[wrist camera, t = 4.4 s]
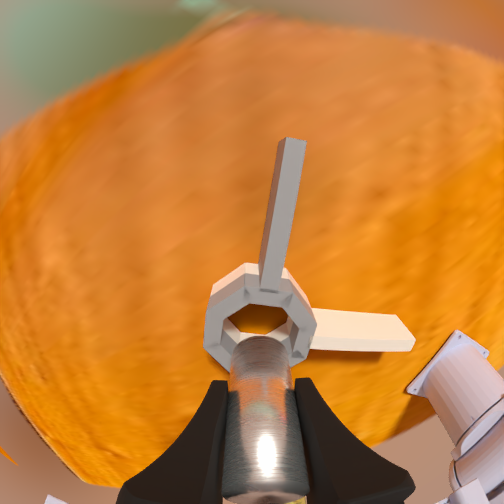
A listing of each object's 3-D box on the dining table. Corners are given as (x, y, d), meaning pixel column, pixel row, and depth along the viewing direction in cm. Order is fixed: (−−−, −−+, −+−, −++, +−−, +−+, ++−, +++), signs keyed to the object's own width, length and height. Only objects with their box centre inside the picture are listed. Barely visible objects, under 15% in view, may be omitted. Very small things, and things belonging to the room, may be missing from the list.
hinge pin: (298, 346, 14) (327, 483, 7) (270, 382, 15) (281, 508, 7) (246, 327, 14) (244, 474, 6) (222, 366, 14) (209, 499, 7)
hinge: (208, 338, 20) (201, 369, 17) (233, 134, 16) (229, 128, 12) (380, 352, 21) (395, 378, 18) (434, 183, 16) (464, 190, 13)
